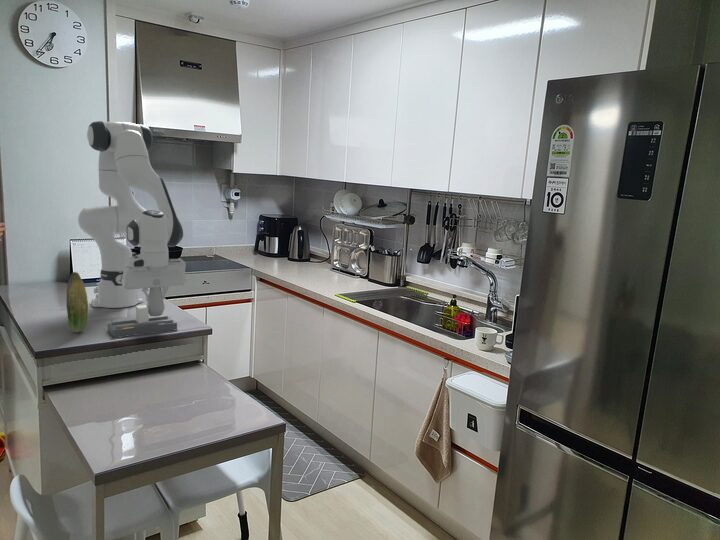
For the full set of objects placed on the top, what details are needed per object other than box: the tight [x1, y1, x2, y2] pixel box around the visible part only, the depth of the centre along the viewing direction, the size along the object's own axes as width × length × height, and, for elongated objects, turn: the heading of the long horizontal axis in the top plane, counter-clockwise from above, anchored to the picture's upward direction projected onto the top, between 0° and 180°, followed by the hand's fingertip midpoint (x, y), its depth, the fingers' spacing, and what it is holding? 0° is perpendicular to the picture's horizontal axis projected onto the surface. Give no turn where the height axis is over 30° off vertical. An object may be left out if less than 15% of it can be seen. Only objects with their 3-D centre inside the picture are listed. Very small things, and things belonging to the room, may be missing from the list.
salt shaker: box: [146, 279, 166, 317], centre depth 181 cm, size 6×6×13 cm
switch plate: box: [107, 315, 178, 338], centre depth 180 cm, size 9×20×3 cm, turn 126°
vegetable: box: [66, 271, 89, 334], centre depth 173 cm, size 6×6×20 cm
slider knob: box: [135, 304, 150, 323], centre depth 180 cm, size 4×3×5 cm
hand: (155, 299), depth 182 cm, fingers closed on salt shaker, 3 cm apart
